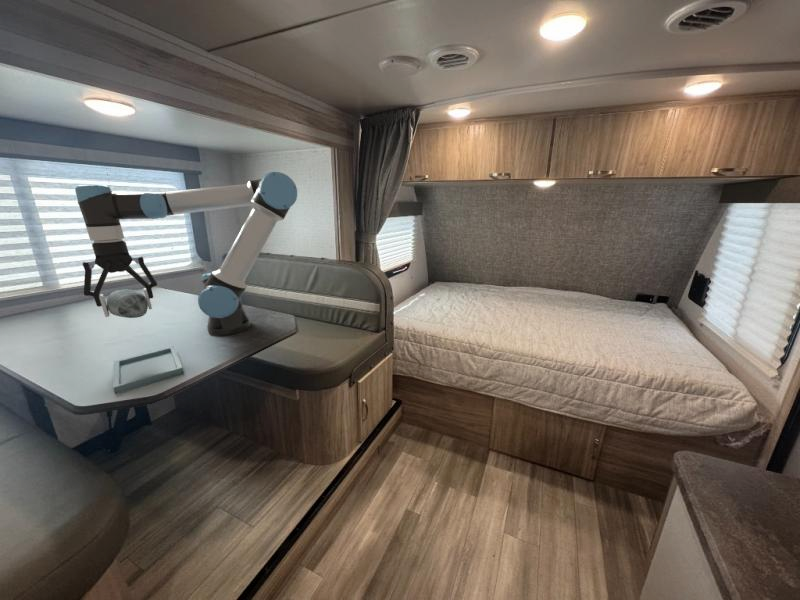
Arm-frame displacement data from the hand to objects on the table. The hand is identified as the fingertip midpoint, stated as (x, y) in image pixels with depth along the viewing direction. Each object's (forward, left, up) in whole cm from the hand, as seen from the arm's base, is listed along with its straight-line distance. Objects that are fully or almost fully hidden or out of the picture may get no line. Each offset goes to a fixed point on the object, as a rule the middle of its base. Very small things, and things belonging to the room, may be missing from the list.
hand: (129, 311), depth 99 cm
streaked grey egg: (0, 0, -1) cm, 1 cm away
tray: (-1, +13, -16) cm, 20 cm away
